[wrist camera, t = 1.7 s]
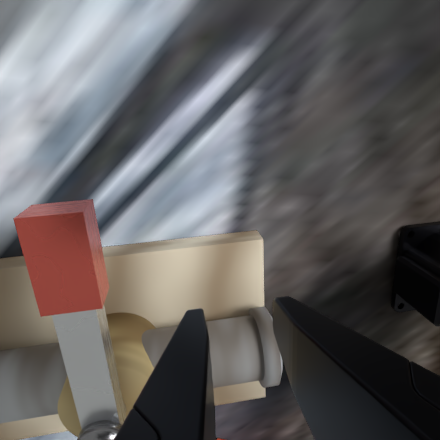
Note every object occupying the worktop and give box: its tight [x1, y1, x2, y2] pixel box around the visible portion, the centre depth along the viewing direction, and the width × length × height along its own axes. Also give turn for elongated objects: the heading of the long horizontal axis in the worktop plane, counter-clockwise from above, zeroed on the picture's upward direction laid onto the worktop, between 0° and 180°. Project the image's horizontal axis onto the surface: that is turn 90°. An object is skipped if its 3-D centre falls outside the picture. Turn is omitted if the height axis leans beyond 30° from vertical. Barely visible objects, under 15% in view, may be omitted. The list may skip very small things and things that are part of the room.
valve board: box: [0, 230, 283, 440], centre depth 19 cm, size 18×12×6 cm, turn 93°
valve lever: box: [14, 199, 126, 440], centre depth 14 cm, size 12×2×2 cm, turn 3°
